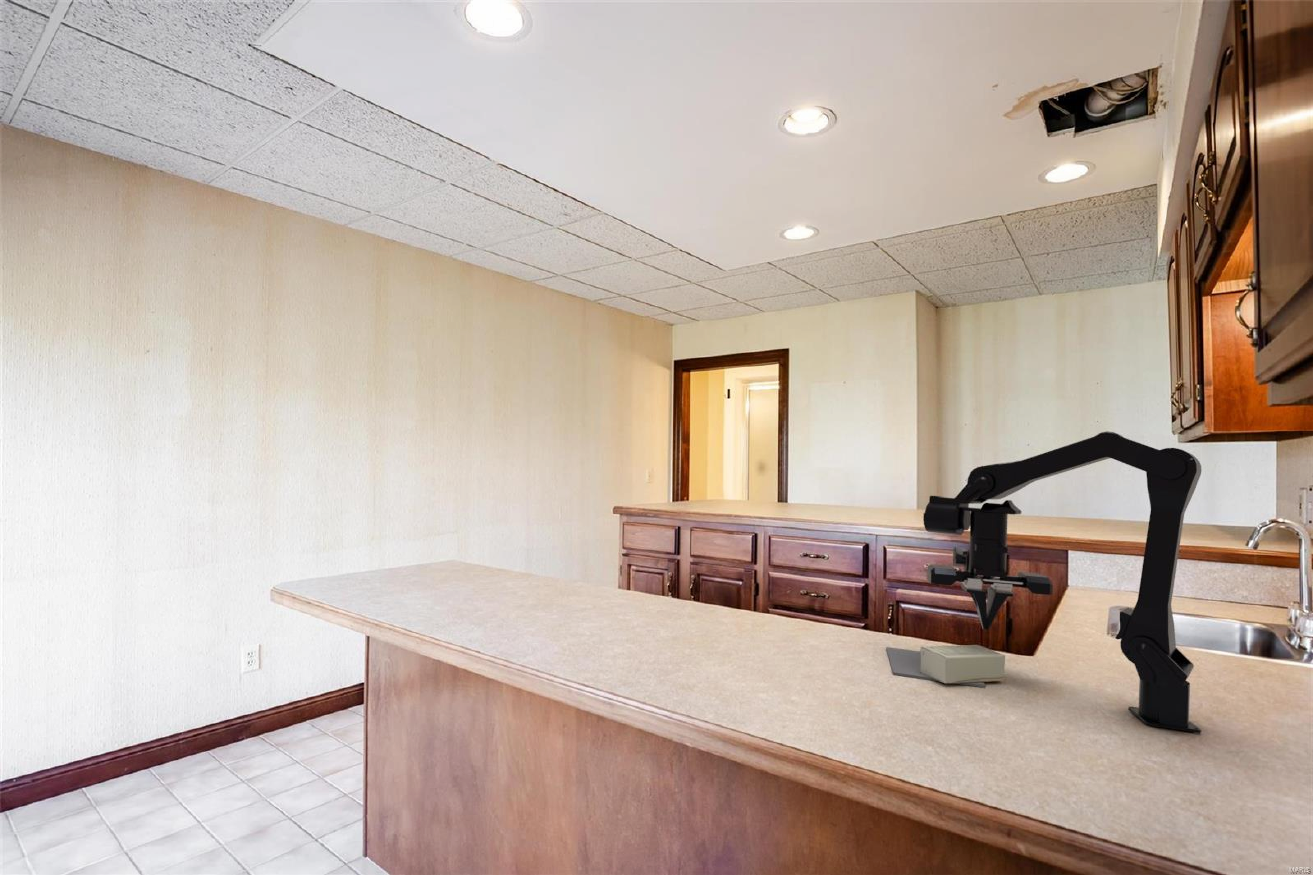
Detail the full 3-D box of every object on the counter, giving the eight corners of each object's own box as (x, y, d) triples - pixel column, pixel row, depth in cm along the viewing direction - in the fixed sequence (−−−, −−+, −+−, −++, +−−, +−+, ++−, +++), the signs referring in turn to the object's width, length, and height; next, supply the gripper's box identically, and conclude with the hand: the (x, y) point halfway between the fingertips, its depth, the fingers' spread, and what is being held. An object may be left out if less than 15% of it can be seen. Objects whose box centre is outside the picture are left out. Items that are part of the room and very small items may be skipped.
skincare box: (976, 669, 111) (918, 672, 107) (977, 643, 111) (919, 645, 107) (1006, 681, 104) (945, 685, 101) (1006, 654, 105) (946, 657, 101)
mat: (985, 688, 102) (985, 685, 102) (893, 674, 106) (893, 672, 106) (966, 659, 117) (966, 657, 117) (886, 649, 121) (886, 646, 121)
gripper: (1034, 538, 115) (1031, 625, 114) (923, 530, 120) (921, 613, 119) (1054, 545, 104) (1052, 640, 104) (932, 535, 109) (929, 627, 109)
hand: (985, 629), depth 109 cm, fingers closed
